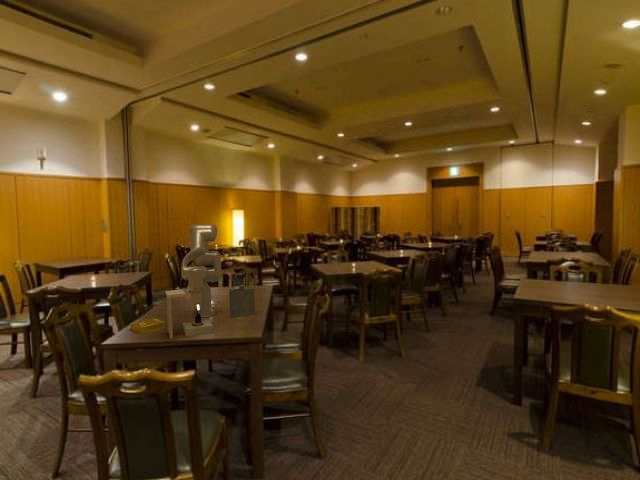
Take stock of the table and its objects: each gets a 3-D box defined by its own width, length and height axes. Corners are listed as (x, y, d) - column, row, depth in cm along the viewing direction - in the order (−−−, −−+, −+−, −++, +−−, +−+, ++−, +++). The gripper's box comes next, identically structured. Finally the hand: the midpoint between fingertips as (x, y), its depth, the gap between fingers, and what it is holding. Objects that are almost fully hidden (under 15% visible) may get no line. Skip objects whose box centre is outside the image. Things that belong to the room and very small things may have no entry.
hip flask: (254, 314, 253) (253, 284, 252) (255, 315, 249) (254, 285, 248) (230, 316, 249) (228, 285, 248) (230, 317, 245) (228, 286, 244)
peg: (193, 330, 218) (192, 310, 217) (201, 329, 219) (200, 309, 219) (194, 332, 214) (193, 311, 213) (202, 331, 216) (201, 310, 215)
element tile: (166, 328, 225) (165, 320, 225) (140, 335, 214) (140, 326, 214) (154, 324, 235) (154, 316, 235) (129, 330, 224) (128, 322, 224)
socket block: (167, 332, 216) (165, 291, 215) (208, 326, 226) (206, 287, 225) (169, 339, 204) (167, 295, 202) (212, 332, 213) (210, 290, 212)
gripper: (187, 288, 222) (188, 318, 223) (190, 293, 206) (192, 325, 207) (200, 287, 225) (201, 316, 226) (205, 291, 209) (206, 323, 210)
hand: (197, 321), depth 216 cm, fingers open, 7 cm apart
